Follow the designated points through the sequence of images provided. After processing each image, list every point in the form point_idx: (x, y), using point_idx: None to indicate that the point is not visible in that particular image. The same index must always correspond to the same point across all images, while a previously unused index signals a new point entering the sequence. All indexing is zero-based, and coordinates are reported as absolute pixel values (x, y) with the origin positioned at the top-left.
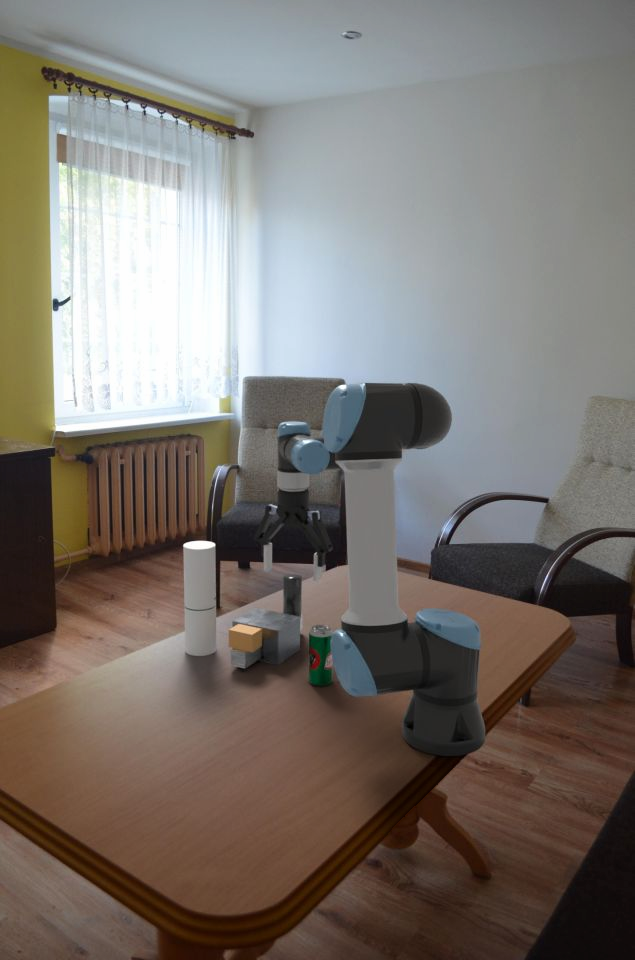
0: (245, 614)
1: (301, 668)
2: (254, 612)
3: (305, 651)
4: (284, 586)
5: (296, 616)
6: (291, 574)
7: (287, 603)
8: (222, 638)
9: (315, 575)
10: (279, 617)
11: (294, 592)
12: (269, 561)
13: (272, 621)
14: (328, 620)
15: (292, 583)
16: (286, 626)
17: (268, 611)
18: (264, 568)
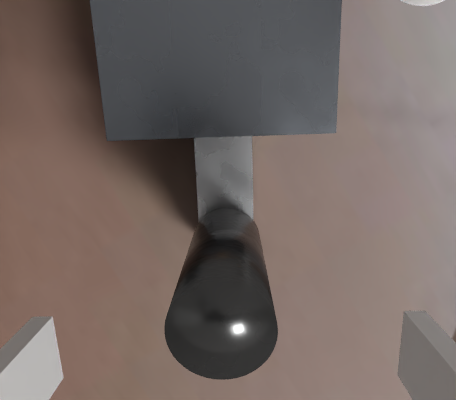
0: (334, 27)
1: (57, 3)
2: (310, 76)
3: None
4: (247, 264)
5: (121, 134)
6: (252, 366)
7: (225, 227)
8: (409, 76)
9: (16, 339)
10: (176, 81)
11: (191, 260)
12: (432, 393)
13: (174, 17)
14: None
15: (193, 277)
16: (91, 6)
17: (259, 121)
18: (429, 322)
